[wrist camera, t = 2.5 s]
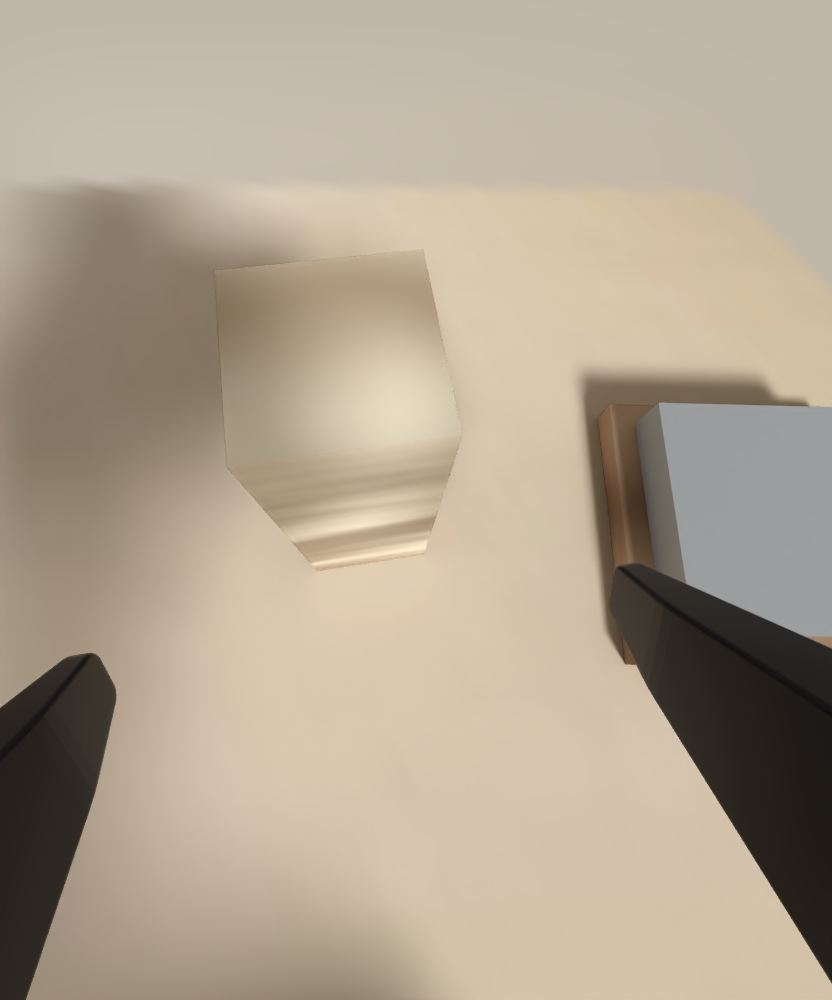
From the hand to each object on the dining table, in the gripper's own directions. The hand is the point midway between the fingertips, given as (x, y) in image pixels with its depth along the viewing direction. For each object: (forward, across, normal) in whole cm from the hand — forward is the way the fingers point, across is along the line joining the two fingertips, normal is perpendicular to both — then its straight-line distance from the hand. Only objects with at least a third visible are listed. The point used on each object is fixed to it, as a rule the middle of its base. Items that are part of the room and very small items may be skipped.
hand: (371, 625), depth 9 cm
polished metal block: (+12, 0, +4) cm, 13 cm away
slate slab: (+9, -16, +6) cm, 19 cm away
